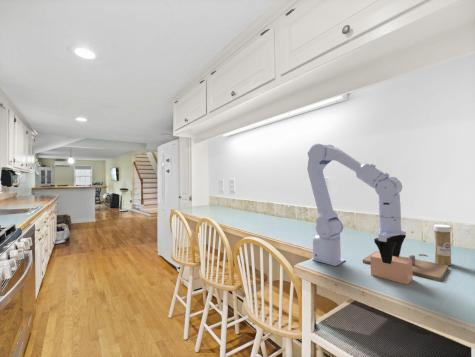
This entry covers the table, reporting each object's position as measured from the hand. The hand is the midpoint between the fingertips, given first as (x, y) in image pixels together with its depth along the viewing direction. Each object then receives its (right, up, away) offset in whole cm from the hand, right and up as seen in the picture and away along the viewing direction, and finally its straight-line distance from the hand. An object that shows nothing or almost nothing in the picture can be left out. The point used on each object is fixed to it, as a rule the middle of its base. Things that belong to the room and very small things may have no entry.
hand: (391, 259), depth 75 cm
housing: (0, -6, 0) cm, 6 cm away
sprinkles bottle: (+24, -5, +9) cm, 26 cm away
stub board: (+10, -5, +9) cm, 14 cm away
